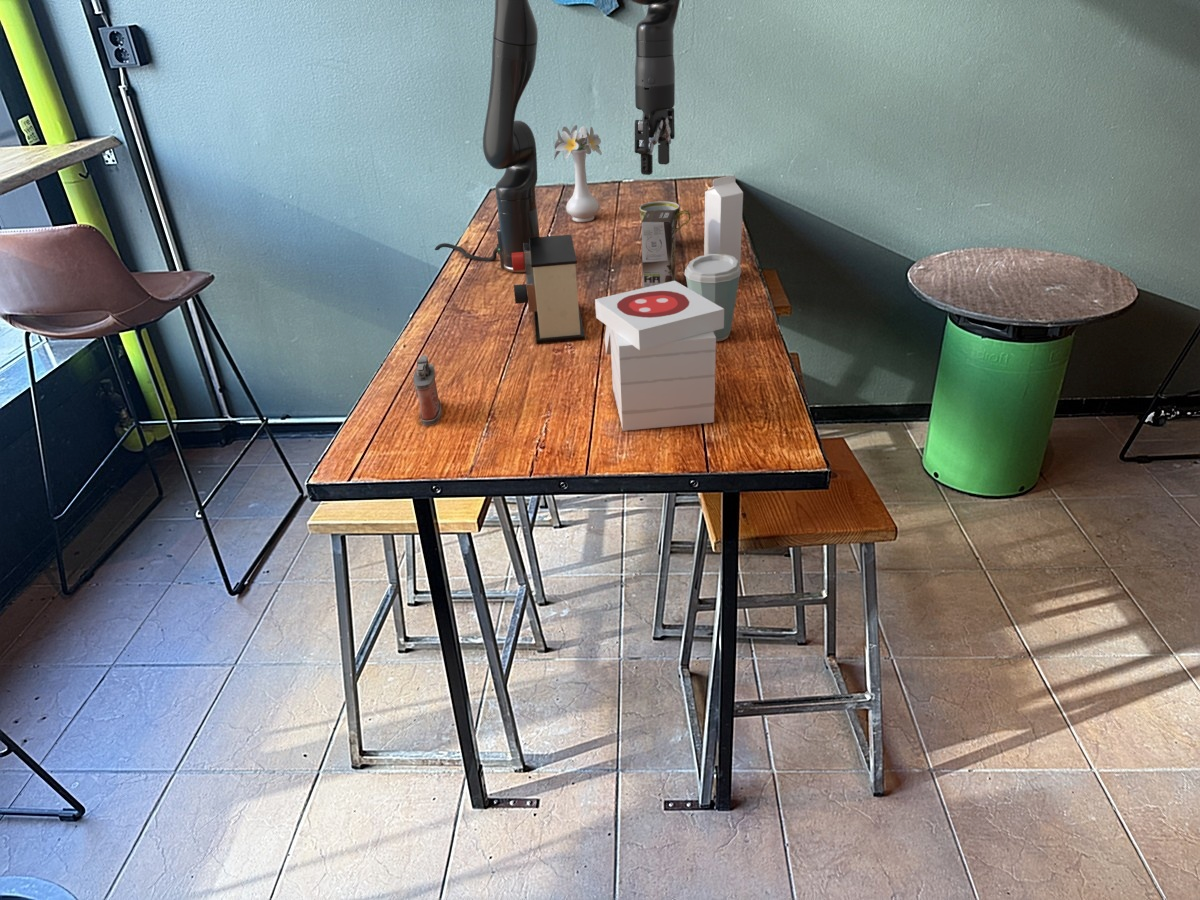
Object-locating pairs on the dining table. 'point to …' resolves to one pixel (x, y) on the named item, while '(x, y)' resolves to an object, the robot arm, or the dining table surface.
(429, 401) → the lighter
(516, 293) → the black button
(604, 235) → the dining table surface
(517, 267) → the red button
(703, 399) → the pizza boxes
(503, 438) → the dining table surface
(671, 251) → the coffee box
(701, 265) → the disposable coffee cup
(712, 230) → the milk
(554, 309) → the control box
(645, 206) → the ceramic cup
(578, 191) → the flower vase
